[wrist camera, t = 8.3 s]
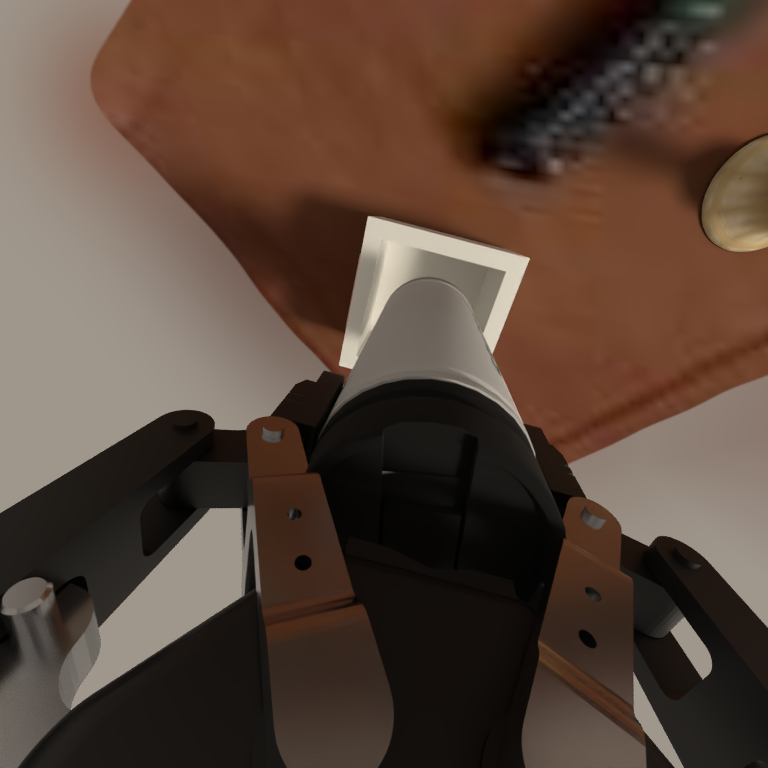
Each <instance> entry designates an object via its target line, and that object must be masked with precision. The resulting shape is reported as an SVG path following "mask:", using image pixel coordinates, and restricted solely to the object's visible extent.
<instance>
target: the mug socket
mask: <svg viewBox="0 0 768 768" xmlns="http://www.w3.org/2000/svg"><path fill="white" fill-rule="evenodd" d="M529 259H530V258H528V257H525V256H523V255H520V254H518V253H515V252H513V251H510V250H508V249H504V248H500V247H496V246H493V245H489V244H485V243H481V242H477V241H473V240H470V239H466V238H462V237H458V236H454V235H450V234H447V233H443V232H439V231H435V230H431V229H428V228H424V227H420V226H416V225H412V224H408V223H405V222H401V221H397V220H393V219H389V218H386V217H380V216H368V219H367V224H366V229H365V235H364V240H363V245H362V250H361V253H360V255H359V261H358V266H357V271H356V276H355V281H354V286H353V292H352V297H351V302H350V307H349V312H348V317H347V322H346V328H345V329H346V332H345V337H344V342H343V347H342V353H341V358H340V363H339V366H343V367H347V368H350V369H353V367H354V365H355V363H356V361H357V359H358V357H359V355H360V353H361V351H362V349H363V347H364V345H365V344H366V342H367V340H368V338H369V336H370V334H371V332H372V330H373V328H374V326H375V324H376V322H377V320H378V318H379V316H380V314H381V312H382V310H383V308H384V306H385V304H386V303H387V301H388V299H389V298H390V296H391V295H392V294H393V292H394V291H395V290H396V289H397V288H399V287H400V286H401V285H403V284H404V283H406V282H408V281H410V280H413V279H417V278H421V277H435V278H440V279H443V280H446V281H448V282H450V283H452V284H453V285H455V286H456V287H457V288H458V289H459V290H460V291H461V292H462V293H463V294H464V295H465V297H466V298H467V300H468V302H469V304H470V306H471V308H472V311H473V313H474V315H475V317H476V320H477V322H478V324H479V326H480V328H481V331H482V333H483V335H484V337H485V340H486V342H487V344H488V346H489V348H490V351H491V353H493V351H494V348H495V346H496V343H497V341H498V338H499V336H500V333H501V330H502V328H503V325H504V323H505V320H506V318H507V315H508V313H509V310H510V308H511V305H512V302H513V300H514V297H515V295H516V292H517V290H518V287H519V285H520V282H521V280H522V277H523V275H524V272H525V269H526V267H527V264H528V262H529Z"/></svg>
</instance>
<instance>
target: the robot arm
mask: <svg viewBox="0 0 768 768" xmlns="http://www.w3.org/2000/svg"><path fill="white" fill-rule="evenodd" d="M343 383H344V376H343V375H339V374H336V373H332V372H328V371H324V372H323V373H322V374H321V376H320V378H319V379H318V380H317V382H314V381H309V380H305V381H302V382H300V383H298V384H296V385H295V386H294V387H293V388H292V390H291V391H290V393H288V395H287V396H286V397H285V399H284V400H283V401H282V402H281V403H280V405H279V406H278V407H277V408H276V410H275V411H274V412H273V413H272V415H271V416H269V417H261V418H258V419H256V420H254V421H252V422H251V423H250V424H249V425H248V426H247V429H246V430H218V429H214V427H215V422H214V420H213V419H212V417H211V416H209V415H208V414H206V413H203V412H200V411H195V410H180V411H174V412H170V413H167V414H165V415H163V416H161V417H159V418H157V419H156V420H154V421H152V422H151V423H149V424H147V425H146V426H144V427H143V428H141V429H139V430H137V431H136V432H134V433H132V434H131V435H129V436H128V437H126V438H124V439H123V440H121V441H119V442H118V443H116V444H115V445H113V446H111V447H109V448H108V449H106V450H104V451H103V452H101V453H99V454H98V455H96V456H94V457H93V458H92V459H89V460H88V461H86V462H84V463H83V464H81V465H80V466H78V467H76V468H75V469H73V470H71V471H70V472H68V473H66V474H64V475H63V476H61V477H60V478H58V479H56V480H55V481H53V482H51V483H50V484H48V485H46V486H45V487H43V488H41V489H40V490H38V491H36V492H35V493H33V494H31V495H30V496H28V497H26V498H25V499H23V500H21V501H20V502H18V503H16V504H15V505H13V506H12V507H10V508H8V509H6V510H5V511H3V512H2V513H0V768H674V766H673V765H672V764H671V763H670V762H669V760H668V759H667V758H666V757H665V756H664V754H663V753H662V752H661V751H660V750H659V749H658V747H657V746H656V745H655V744H654V743H653V741H652V740H651V739H650V738H649V737H648V735H647V734H646V733H645V732H644V731H643V728H642V726H641V724H640V723H639V722H638V720H637V719H636V717H635V714H634V697H633V696H634V694H633V692H634V691H633V690H634V689H633V672H634V674H635V675H636V677H637V679H638V681H639V683H640V685H641V687H642V689H643V691H644V692H645V694H646V696H647V698H648V700H649V702H650V704H651V706H652V708H653V710H654V712H655V713H656V715H657V717H658V719H659V721H660V723H661V725H662V727H663V729H664V731H665V732H666V734H667V736H668V738H669V740H670V742H671V744H672V746H673V748H674V749H675V751H676V753H677V755H678V757H679V759H680V761H681V763H682V765H683V766H684V768H768V628H767V626H766V625H765V624H764V623H763V622H762V621H761V620H760V619H759V618H758V617H757V616H756V614H755V613H754V612H753V611H752V610H751V609H750V608H749V606H748V605H747V604H746V603H745V602H744V601H743V600H742V599H741V598H740V596H738V595H737V593H736V592H735V591H734V590H733V589H732V588H731V586H730V585H729V584H728V583H727V582H726V581H725V580H724V579H723V578H722V577H721V576H720V574H719V573H718V572H717V571H716V570H715V569H714V568H713V567H712V565H711V564H710V563H709V562H708V561H707V560H706V559H705V558H704V557H703V556H701V555H700V554H699V553H698V552H696V551H695V550H694V549H692V548H691V547H689V546H688V545H686V544H684V543H682V542H680V541H678V540H676V539H673V538H671V537H667V536H659V537H657V538H656V539H655V540H654V541H653V542H652V544H651V545H650V546H647V545H644V544H642V543H640V542H638V541H636V540H634V539H632V538H630V537H628V536H626V535H624V534H622V533H621V526H620V524H619V522H618V521H617V519H616V518H615V517H614V516H613V515H612V514H611V513H610V512H609V511H608V510H607V509H605V508H604V507H602V506H601V505H599V504H598V503H596V502H594V501H591V500H589V499H587V498H586V496H585V494H584V493H583V491H582V489H581V487H580V485H579V484H578V482H577V480H576V478H575V477H574V476H573V473H572V471H571V469H570V468H569V467H568V464H567V462H566V460H565V458H564V457H563V455H562V454H561V453H560V452H559V451H558V450H557V449H556V448H555V447H554V446H553V445H550V444H549V443H548V441H547V439H546V437H545V435H544V433H543V431H542V429H541V428H538V427H535V426H531V425H527V424H523V425H524V426H525V428H526V431H527V433H528V435H529V438H530V440H531V443H532V446H533V448H534V451H535V457H536V459H537V461H538V463H539V466H540V468H541V470H542V473H543V475H544V477H545V479H546V482H547V484H548V486H549V489H550V491H551V493H552V495H553V498H554V500H555V502H556V505H557V507H558V510H559V512H560V515H561V518H562V520H563V523H564V525H565V530H566V539H565V538H563V537H562V538H561V539H560V540H559V541H558V543H557V545H556V546H555V548H554V549H553V550H552V551H551V553H550V554H549V555H548V556H547V558H546V560H545V563H544V565H543V566H542V568H541V570H540V572H539V573H538V575H537V576H536V578H535V579H534V581H533V583H532V584H531V586H530V587H529V589H528V590H527V592H526V593H525V595H524V597H523V598H522V599H520V598H518V597H517V596H516V592H515V587H514V583H513V580H509V579H505V578H502V577H498V576H494V575H490V574H487V573H483V572H479V571H476V570H463V569H432V568H429V567H427V566H425V565H423V564H421V563H419V562H417V561H415V560H413V559H411V558H409V557H407V556H405V555H403V554H401V553H399V552H397V551H395V550H393V549H391V548H389V547H386V546H382V545H378V544H375V543H371V542H367V541H363V540H360V539H356V538H352V537H349V539H348V543H347V547H346V550H341V547H340V544H339V540H338V537H337V533H336V530H335V526H334V523H333V519H332V516H331V513H330V509H329V506H328V502H327V499H326V495H325V492H324V488H323V485H322V482H321V478H320V475H319V473H318V472H306V470H307V468H308V463H307V462H308V460H309V458H310V456H311V454H312V452H313V451H314V449H315V447H316V444H317V441H318V438H319V434H320V431H321V429H322V427H323V425H324V424H325V422H326V420H327V418H328V416H329V414H330V412H331V410H332V408H333V406H334V404H335V402H336V400H337V398H338V396H339V394H340V392H341V390H342V388H343ZM210 508H241V535H242V597H241V598H240V599H238V600H236V601H235V602H234V603H232V604H230V605H229V606H227V607H226V608H224V609H223V610H221V611H220V612H218V613H217V614H215V615H214V616H212V617H210V618H209V619H207V620H206V621H204V622H203V623H201V624H200V625H198V626H197V627H195V628H193V629H192V630H190V631H189V632H187V633H186V634H184V635H183V636H181V637H180V638H178V639H177V640H175V641H174V642H172V643H170V644H169V645H167V646H166V647H164V648H163V649H161V650H160V651H158V652H157V653H155V654H154V655H152V656H150V657H149V658H147V659H146V660H144V661H143V662H141V663H140V664H138V665H137V666H135V667H134V668H132V669H131V670H129V671H127V672H126V673H125V674H123V675H122V676H120V677H118V678H117V679H115V680H114V681H112V682H110V683H109V684H107V685H106V686H105V687H103V688H101V689H100V690H98V691H97V692H95V693H94V694H92V695H91V696H90V697H88V698H86V699H85V700H84V701H82V702H81V703H80V704H78V705H77V706H76V707H75V708H73V709H72V710H70V709H71V704H72V701H73V699H74V696H75V694H76V692H77V690H78V688H79V686H80V685H81V683H82V682H83V680H84V679H85V677H86V676H87V675H88V673H89V672H90V670H91V669H92V667H93V666H94V664H95V662H96V660H97V657H98V655H99V651H100V647H101V639H100V634H99V629H98V628H99V627H100V626H101V625H102V623H104V621H105V620H106V619H107V618H108V617H109V616H110V615H111V614H112V613H113V612H114V611H115V610H116V609H117V608H118V607H119V606H120V604H121V603H122V602H123V601H124V600H125V599H126V598H127V597H128V596H129V595H130V594H131V593H132V592H133V591H134V590H135V588H136V587H137V586H138V585H139V584H140V583H141V582H142V581H143V580H144V579H145V578H146V576H148V575H149V573H150V572H151V571H152V570H153V569H154V568H155V567H156V566H157V565H158V564H159V563H160V562H161V561H162V560H163V558H164V557H165V556H166V555H167V554H168V553H169V552H170V551H171V550H172V549H173V548H174V547H175V546H176V545H177V544H178V543H179V541H180V540H181V539H182V538H183V537H184V536H185V535H186V534H187V533H188V532H189V531H190V530H191V529H192V528H193V526H194V525H195V524H196V523H197V522H198V521H199V520H200V519H201V518H202V517H203V516H204V515H205V513H207V511H208V510H209V509H210ZM683 617H685V618H686V619H687V621H688V622H689V624H690V625H691V626H692V628H693V629H694V631H695V632H696V633H697V635H698V636H699V637H700V639H701V640H702V642H703V643H704V644H705V646H706V647H707V649H708V651H709V653H710V655H711V659H712V670H711V672H710V674H709V675H708V676H707V677H706V678H704V679H703V680H702V678H701V677H700V675H699V674H698V672H697V671H696V669H695V668H694V666H693V665H692V663H691V662H690V660H689V659H688V657H687V656H686V654H685V653H684V651H683V649H682V648H681V647H680V645H679V643H678V642H677V641H676V639H675V637H674V636H673V635H672V633H671V631H670V630H671V629H672V628H673V627H674V626H675V625H676V624H677V623H678V622H679V621H680V620H681V619H682V618H683Z"/></svg>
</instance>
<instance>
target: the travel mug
mask: <svg viewBox="0 0 768 768" xmlns="http://www.w3.org/2000/svg"><path fill="white" fill-rule="evenodd" d="M307 463H308V468H307V470H306V472H318V473H319V475H320V478H321V482H322V485H323V488H324V492H325V495H326V499H327V502H328V506H329V509H330V513H331V516H332V519H333V523H334V526H335V530H336V533H337V537H338V540H339V544H340V547H341V550H346V547H347V543H348V539H349V537H352V538H356V539H360V540H363V541H367V542H371V543H375V544H378V545H382V546H386V547H389V548H391V549H393V550H395V551H397V552H399V553H401V554H403V555H405V556H407V557H409V558H411V559H413V560H415V561H417V562H419V563H421V564H423V565H425V566H427V567H429V568H432V569H463V570H476V571H479V572H483V573H487V574H490V575H494V576H498V577H502V578H505V579H509V580H513V583H514V587H515V592H516V596H517V597H518V598H520V599H522V598H523V597H524V595H525V593H526V592H527V590H528V589H529V587H530V586H531V584H532V583H533V581H534V579H535V578H536V576H537V575H538V573H539V572H540V570H541V568H542V566H543V565H544V563H545V560H546V558H547V556H548V555H549V554H550V553H551V551H552V550H553V549H554V548H555V546H556V545H557V543H558V541H559V540H560V539H561V538H562V537H563V538H565V539H566V530H565V525H564V523H563V520H562V518H561V515H560V512H559V510H558V507H557V505H556V502H555V500H554V498H553V495H552V493H551V491H550V489H549V486H548V484H547V482H546V479H545V477H544V475H543V473H542V470H541V468H540V466H539V463H538V461H537V459H536V457H535V451H534V448H533V446H532V443H531V440H530V438H529V435H528V433H527V431H526V428H525V426H524V425H523V422H522V420H521V417H520V415H519V413H518V411H517V408H516V406H515V404H514V402H513V399H512V397H511V395H510V393H509V391H508V388H507V386H506V384H505V382H504V379H503V377H502V375H501V373H500V371H499V368H498V366H497V364H496V362H495V360H494V357H493V355H492V353H491V351H490V348H489V346H488V344H487V342H486V340H485V337H484V335H483V333H482V331H481V328H480V326H479V324H478V322H477V320H476V317H475V315H474V313H473V311H472V308H471V306H470V304H469V302H468V300H467V298H466V297H465V295H464V294H463V293H462V292H461V291H460V290H459V289H458V288H457V287H456V286H455V285H453V284H452V283H450V282H448V281H446V280H443V279H440V278H435V277H421V278H417V279H413V280H410V281H408V282H406V283H404V284H403V285H401V286H400V287H399V288H397V289H396V290H395V291H394V292H393V294H392V295H391V296H390V298H389V299H388V301H387V303H386V304H385V306H384V308H383V310H382V312H381V314H380V316H379V318H378V320H377V322H376V324H375V326H374V328H373V330H372V332H371V334H370V336H369V338H368V340H367V342H366V344H365V345H364V347H363V349H362V351H361V353H360V355H359V357H358V359H357V361H356V363H355V365H354V367H353V369H352V371H351V373H350V375H349V377H348V379H347V381H346V383H345V384H344V386H343V388H342V390H341V392H340V394H339V396H338V398H337V400H336V402H335V404H334V406H333V408H332V410H331V412H330V414H329V416H328V418H327V420H326V422H325V424H324V425H323V427H322V429H321V431H320V434H319V438H318V441H317V444H316V447H315V449H314V451H313V452H312V454H311V456H310V458H309V460H308V462H307Z"/></svg>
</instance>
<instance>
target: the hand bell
mask: <svg viewBox="0 0 768 768" xmlns="http://www.w3.org/2000/svg"><path fill="white" fill-rule="evenodd" d="M702 224H703V228H704V230H705V233H706V234H707V236H708V238H709V239H710V240H711V241H712V242H713V243H714V244H716V245H717V246H719V247H721V248H723V249H725V250H729V251H734V252H747V251H754V250H759V249H762V248H765V247H768V135H766V136H764V137H761V138H759V139H756V140H754V141H752V142H751V143H749V144H747V145H746V146H744V147H743V148H742V149H740V150H739V151H737V152H736V153H735V154H734V155H733V156H731V157H730V158H729V159H728V160H727V161H726V162H725V163H724V165H723V166H722V167H721V168H720V170H719V171H718V172H717V173H716V175H715V176H714V178H713V179H712V181H711V183H710V185H709V187H708V189H707V191H706V194H705V197H704V200H703V204H702Z"/></svg>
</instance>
